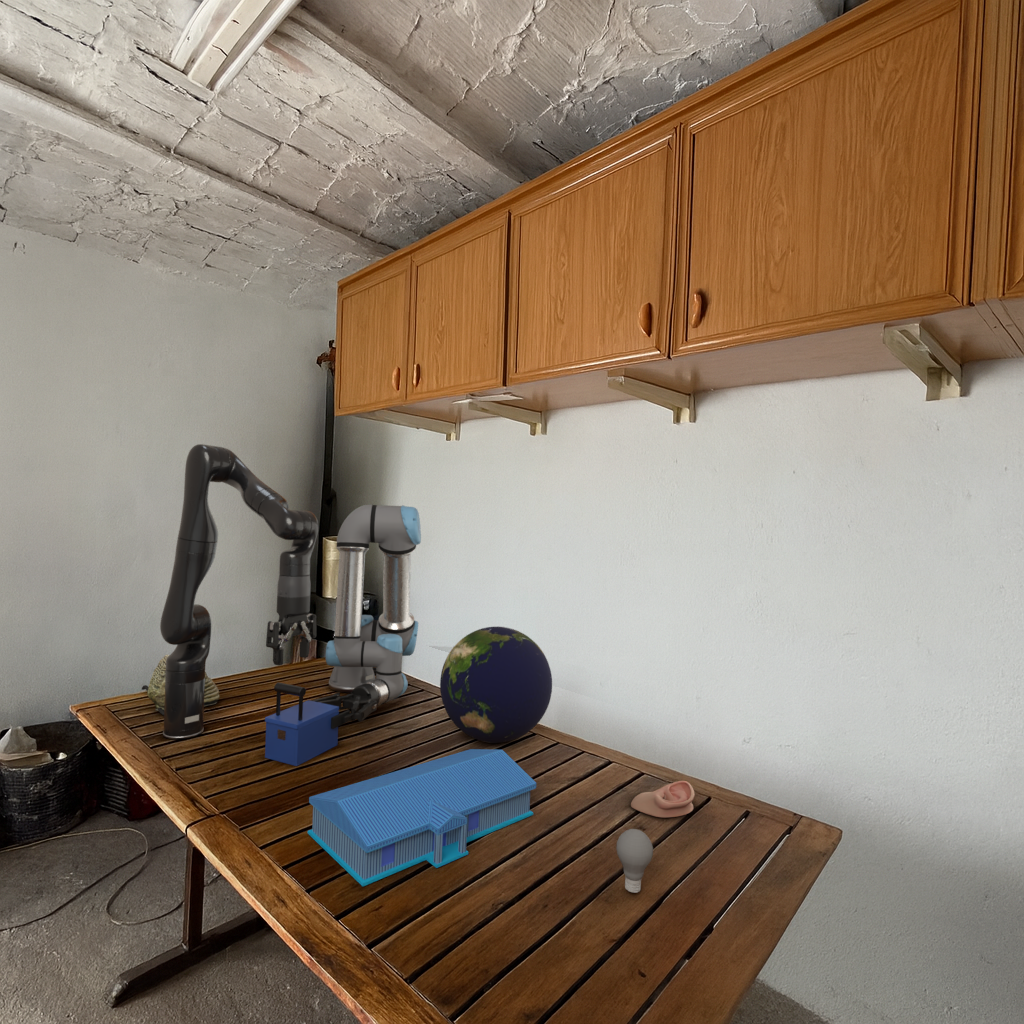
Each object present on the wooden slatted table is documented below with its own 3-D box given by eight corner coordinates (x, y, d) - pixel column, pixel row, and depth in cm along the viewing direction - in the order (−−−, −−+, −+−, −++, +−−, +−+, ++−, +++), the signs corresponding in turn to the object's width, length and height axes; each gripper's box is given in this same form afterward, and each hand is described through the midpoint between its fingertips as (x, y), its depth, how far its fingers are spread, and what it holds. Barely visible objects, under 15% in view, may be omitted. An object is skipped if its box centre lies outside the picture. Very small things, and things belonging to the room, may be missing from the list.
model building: (372, 896, 101) (375, 834, 101) (306, 832, 119) (308, 779, 119) (545, 820, 127) (547, 771, 127) (469, 777, 146) (471, 734, 145)
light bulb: (610, 879, 108) (613, 822, 108) (644, 879, 109) (647, 822, 109) (619, 902, 102) (622, 840, 102) (655, 901, 103) (658, 840, 103)
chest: (296, 766, 148) (298, 728, 148) (264, 757, 152) (266, 721, 152) (337, 745, 162) (338, 710, 161) (307, 737, 165) (308, 704, 165)
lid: (296, 729, 148) (298, 691, 147) (264, 721, 151) (266, 684, 151) (338, 710, 161) (340, 675, 161) (308, 703, 165) (309, 670, 165)
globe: (416, 747, 162) (421, 630, 161) (468, 713, 189) (472, 613, 189) (525, 771, 150) (531, 645, 150) (563, 731, 178) (568, 624, 177)
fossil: (144, 707, 182) (145, 655, 182) (212, 696, 194) (213, 647, 194) (151, 716, 175) (153, 662, 175) (221, 703, 188) (223, 653, 188)
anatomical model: (631, 794, 132) (632, 772, 143) (630, 813, 132) (631, 789, 143) (697, 803, 129) (693, 779, 140) (696, 822, 129) (692, 797, 141)
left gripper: (284, 598, 143) (281, 670, 144) (326, 591, 157) (323, 656, 157) (259, 595, 146) (256, 665, 147) (302, 588, 160) (300, 652, 160)
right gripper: (401, 716, 177) (350, 742, 156) (336, 702, 186) (280, 726, 165) (402, 689, 177) (352, 712, 156) (337, 677, 186) (281, 697, 165)
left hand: (291, 660), depth 152 cm, fingers open, 8 cm apart
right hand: (315, 719), depth 161 cm, fingers closed on chest, 10 cm apart
